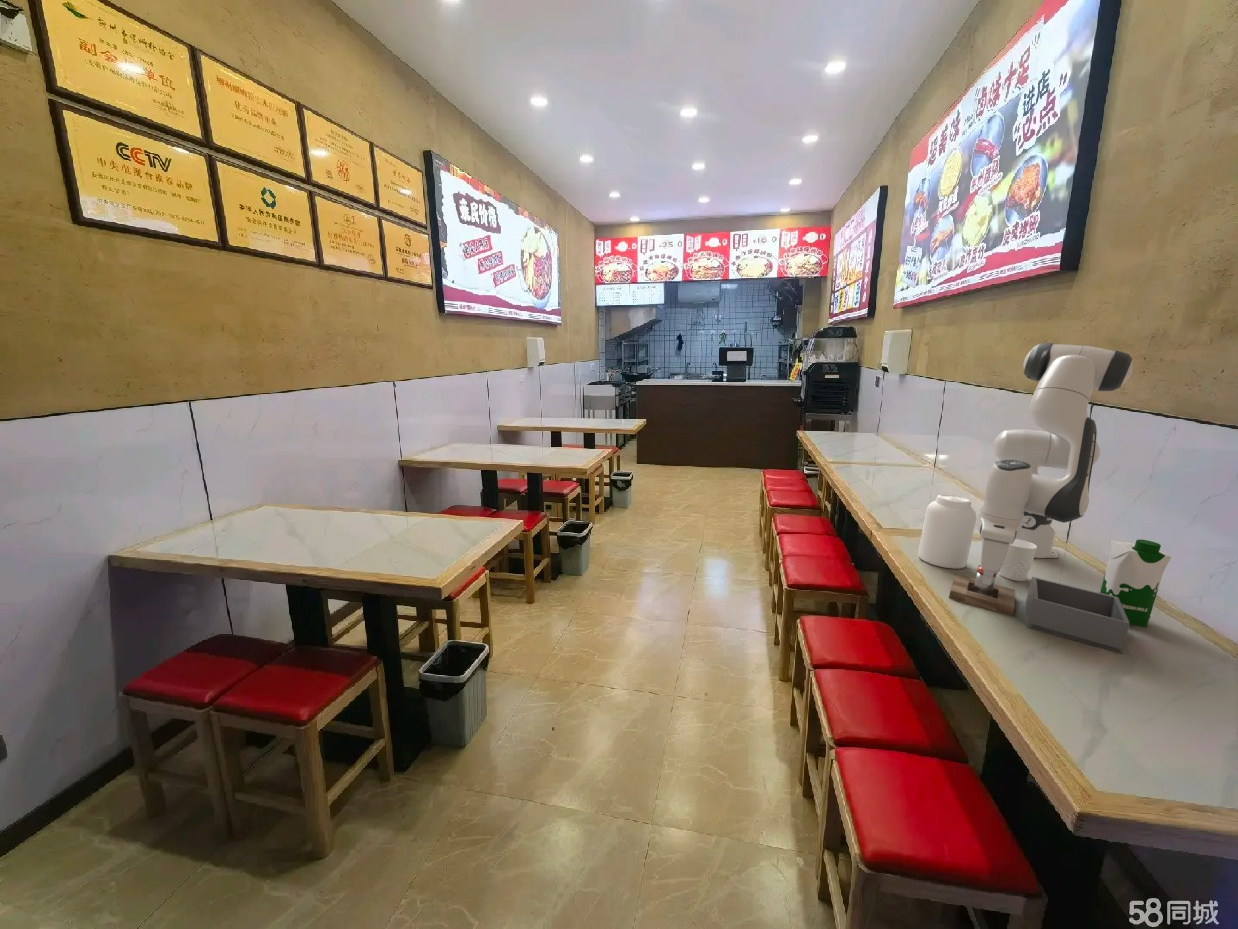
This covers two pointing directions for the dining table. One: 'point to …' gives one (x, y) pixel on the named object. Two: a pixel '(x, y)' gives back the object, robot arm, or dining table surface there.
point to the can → (947, 532)
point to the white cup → (1018, 560)
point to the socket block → (1000, 604)
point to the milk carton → (1135, 577)
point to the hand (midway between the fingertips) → (986, 577)
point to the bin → (1076, 614)
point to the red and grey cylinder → (981, 587)
